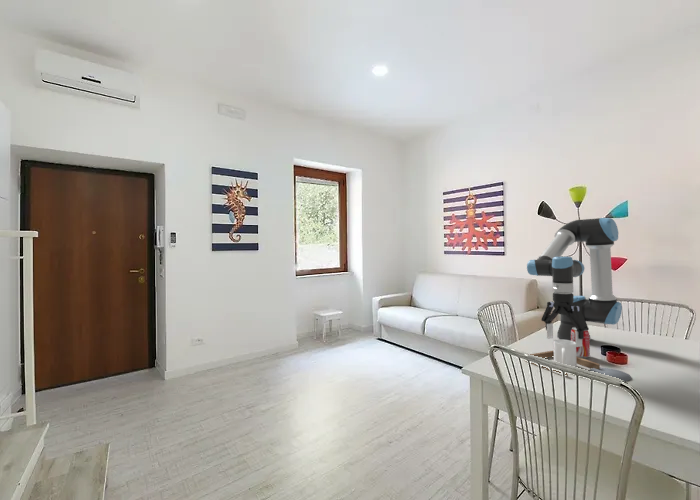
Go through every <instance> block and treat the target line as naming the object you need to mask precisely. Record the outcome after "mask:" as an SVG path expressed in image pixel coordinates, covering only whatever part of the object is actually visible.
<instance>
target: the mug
mask: <svg viewBox="0 0 700 500" xmlns="http://www.w3.org/2000/svg"><path fill="white" fill-rule="evenodd" d="M553 350H554V357H553V362H554V361H557V362H560V363H563V364H567V365H571V366H575V368H577V365H578V364H577V362H576V343H575V342H573V341H570V340H563V339H559V338H557V339H553Z"/></svg>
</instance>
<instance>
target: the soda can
mask: <svg viewBox="0 0 700 500" xmlns="http://www.w3.org/2000/svg"><path fill="white" fill-rule="evenodd" d="M575 331H577V329H576V327H573V328H572V330H571V341H573V342H575V343H576V339H575ZM589 335H590V331H589V330H585V331H584V338H583V339H582V346H581V347H576V357H579V358H582V359H588V358H589V357H590V356H591V355H590V353H591V350H590V349H591V348H590V347H591V346H590V345H591V344H590V342H591V340H590V341H589Z"/></svg>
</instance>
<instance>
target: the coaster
mask: <svg viewBox="0 0 700 500" xmlns="http://www.w3.org/2000/svg"><path fill="white" fill-rule="evenodd" d="M590 371H594V372H598V373H601V374H604V373H605V375H609V376H612V377H616V378H619V379H621V380H624V381H623V382H629V381H631V380H632V378H631V375H630V374H629V373H627V372H625V371H622V370H619V369H615V368H612V367H611V368H610V367H600V369H595V368H592V369H591V368H589V372H590Z"/></svg>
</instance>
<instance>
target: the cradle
mask: <svg viewBox="0 0 700 500" xmlns="http://www.w3.org/2000/svg"><path fill="white" fill-rule="evenodd" d="M529 354H530V355H534V356H538V357H542V358H545V357H551V358H553V357H552V356H554V349H553V350H549V351H548V350H547V351H541V352H535V353H529ZM576 362H577V365H580V366H583V367H586V368H588V369H591V368H595V369H600V363H597V362H594V361H592V360H588V359H586V358H579V357H576ZM530 364H531V365H534V366H536V367H538V366H537V365H536V364H534V363H530ZM544 368H546V367H543V366H542V369H544ZM546 369H547V370H546ZM546 369H545V370H546V371H549V369H548V368H546ZM553 371H556V370H553ZM556 372H559V371H556ZM559 373H561V372H559ZM565 375H567V376H568V377H569V373H568V374H567V373H566V374H565Z"/></svg>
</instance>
